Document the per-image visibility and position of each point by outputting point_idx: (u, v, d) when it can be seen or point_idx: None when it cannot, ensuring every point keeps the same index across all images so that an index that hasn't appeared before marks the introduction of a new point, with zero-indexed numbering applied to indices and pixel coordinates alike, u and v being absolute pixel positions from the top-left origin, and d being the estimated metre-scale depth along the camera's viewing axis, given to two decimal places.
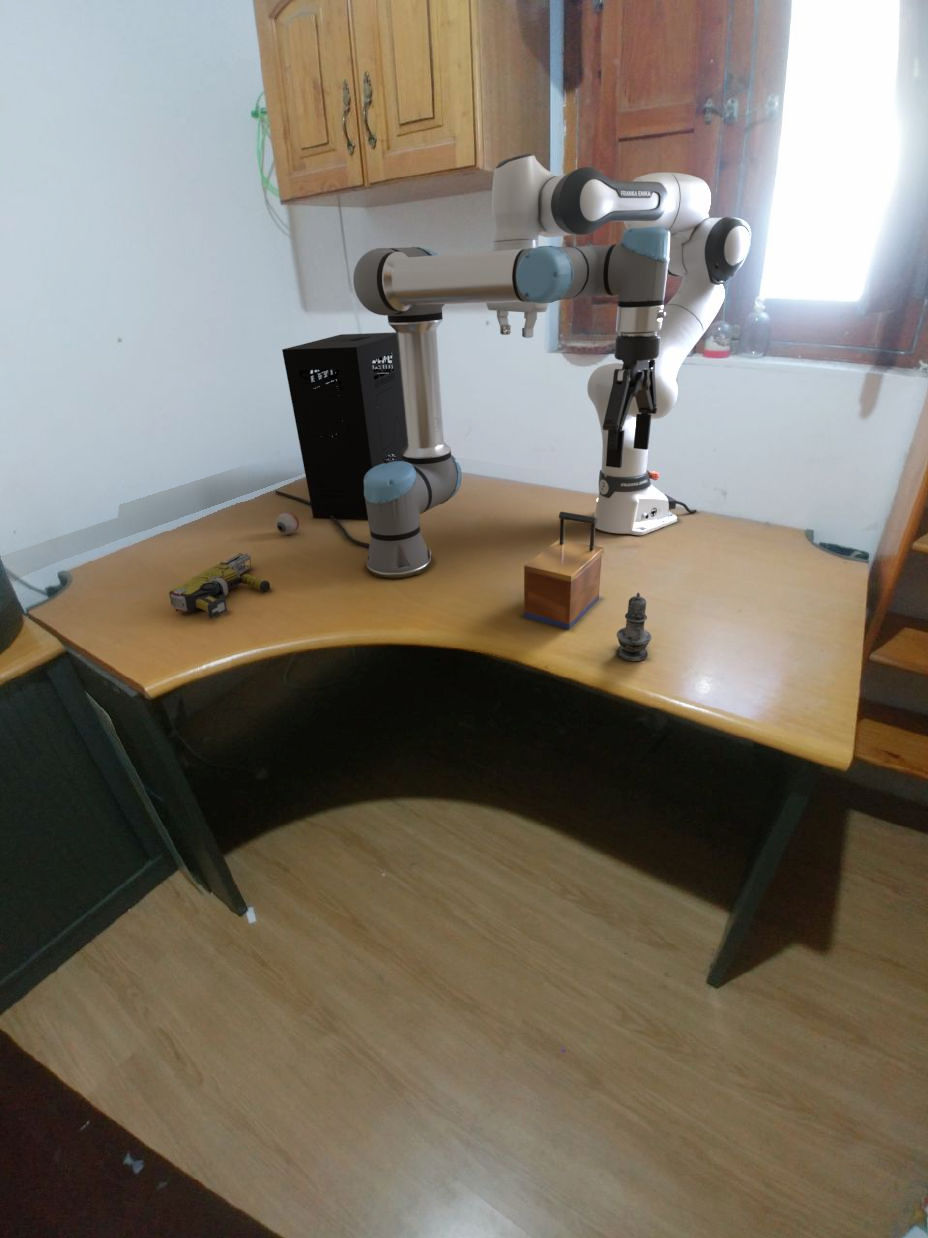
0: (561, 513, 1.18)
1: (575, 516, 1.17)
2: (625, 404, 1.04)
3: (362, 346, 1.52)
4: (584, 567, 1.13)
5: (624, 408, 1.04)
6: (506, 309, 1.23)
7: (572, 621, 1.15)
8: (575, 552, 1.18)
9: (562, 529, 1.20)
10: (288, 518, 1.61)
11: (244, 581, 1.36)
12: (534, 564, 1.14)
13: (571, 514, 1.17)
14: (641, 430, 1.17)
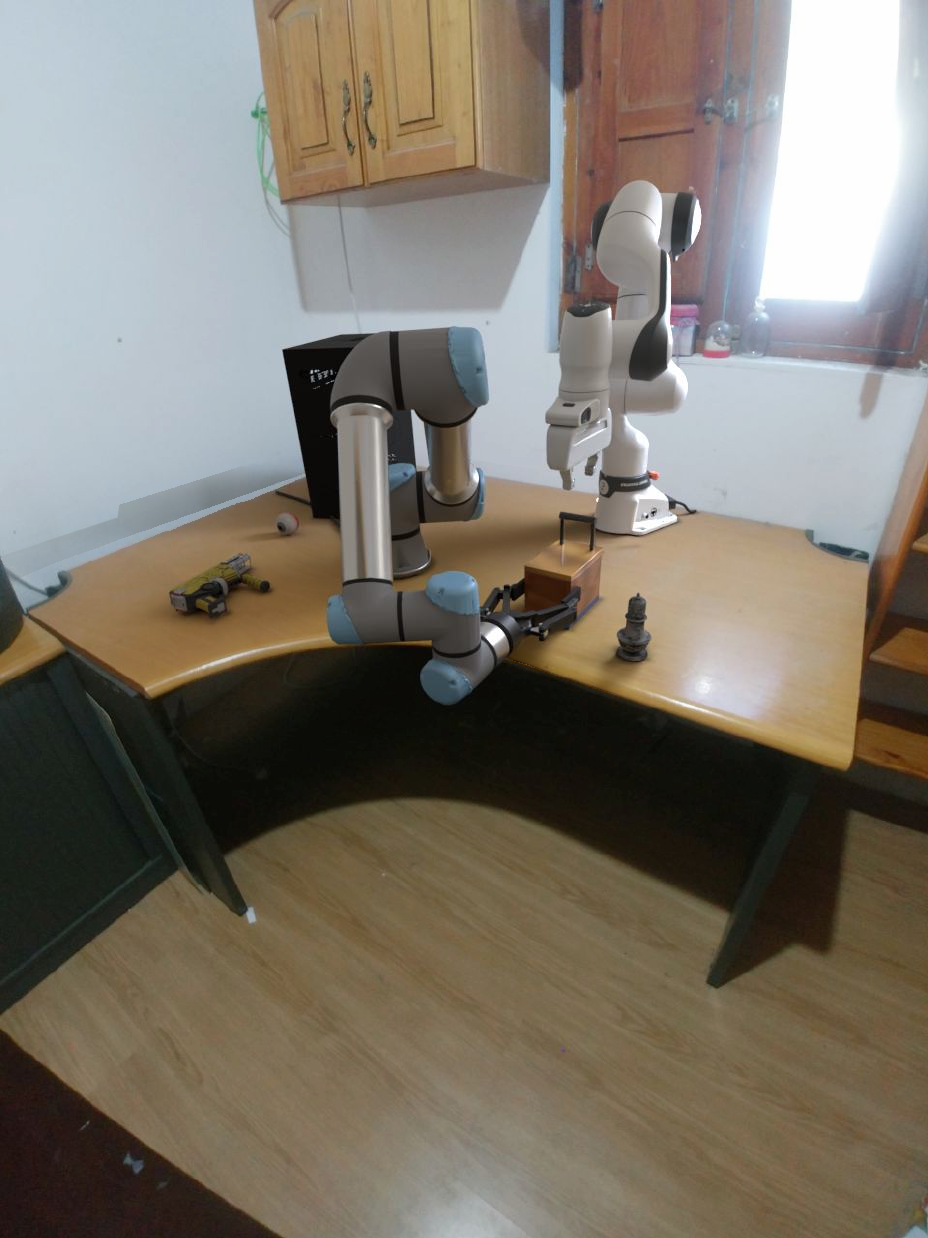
0: (561, 513, 1.18)
1: (575, 516, 1.17)
2: None
3: None
4: (584, 567, 1.13)
5: None
6: (587, 457, 1.10)
7: None
8: (575, 552, 1.18)
9: (562, 529, 1.20)
10: (288, 518, 1.61)
11: (244, 581, 1.36)
12: (534, 564, 1.14)
13: (571, 514, 1.17)
14: None
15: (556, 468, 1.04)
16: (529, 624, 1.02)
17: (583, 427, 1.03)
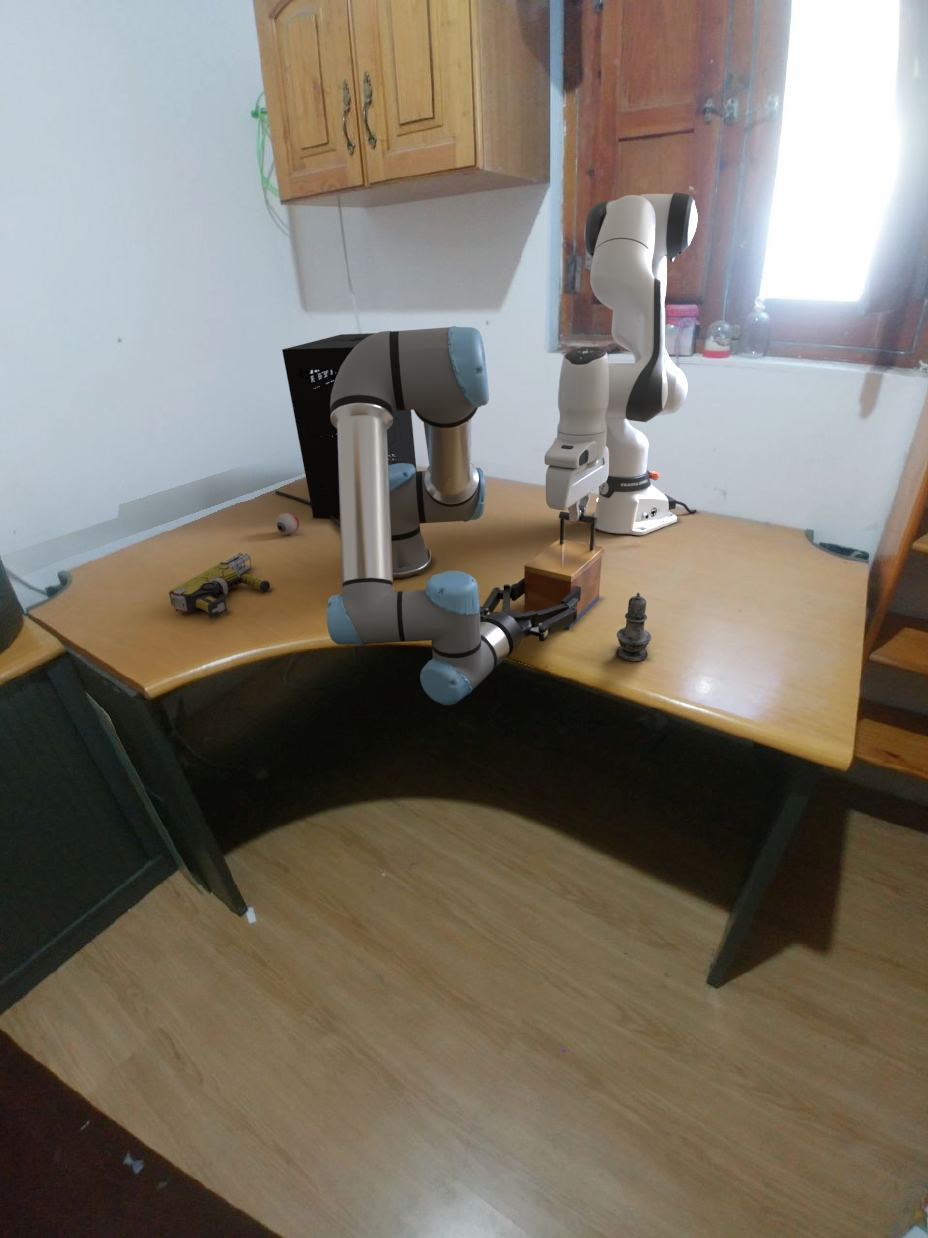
0: (561, 513, 1.18)
1: None
2: None
3: None
4: (584, 567, 1.13)
5: None
6: (585, 495, 1.13)
7: None
8: (575, 551, 1.18)
9: (562, 529, 1.20)
10: (288, 518, 1.61)
11: (244, 581, 1.36)
12: (534, 564, 1.14)
13: None
14: None
15: (555, 508, 1.08)
16: (529, 624, 1.02)
17: (581, 468, 1.06)
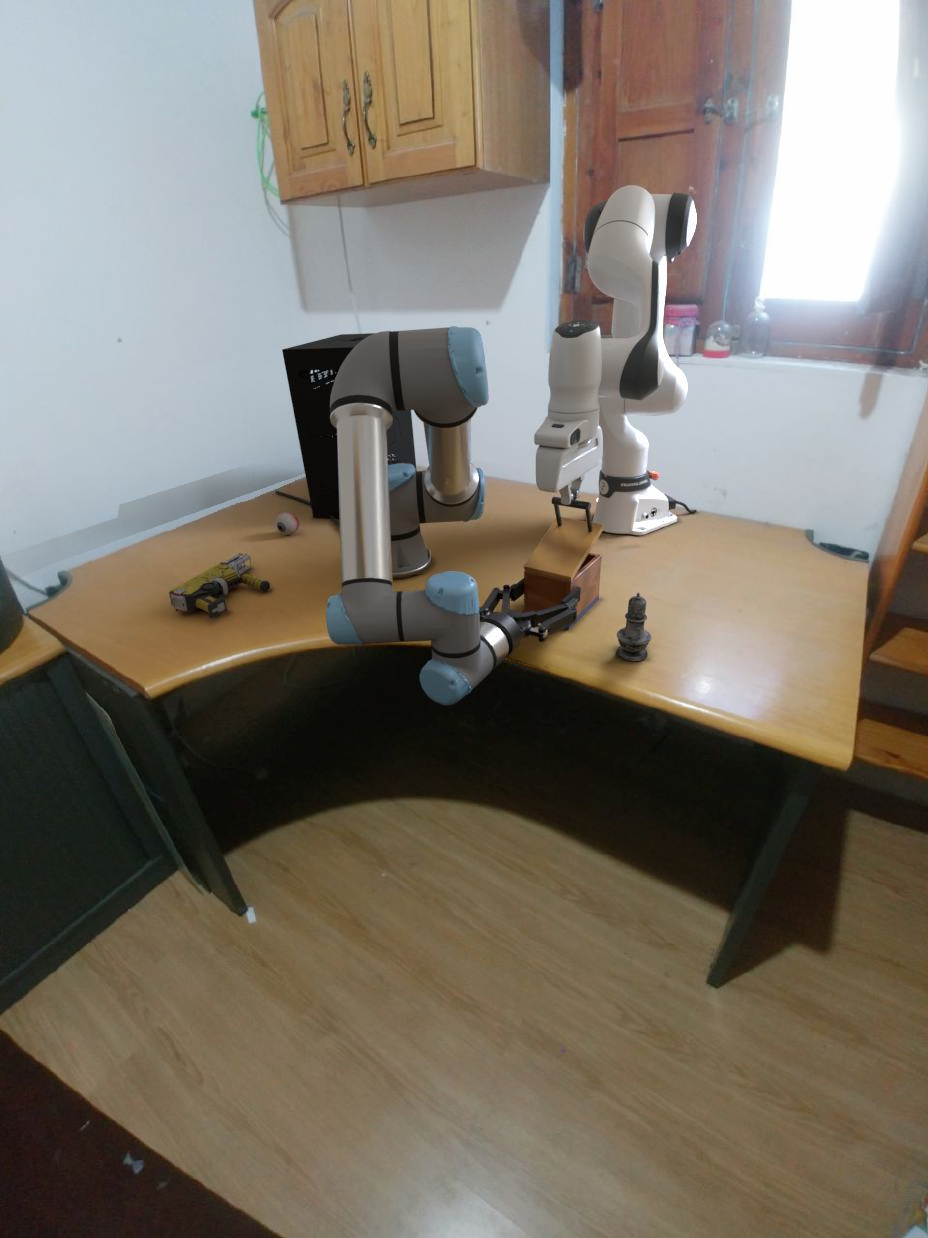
0: (553, 499, 1.14)
1: None
2: None
3: None
4: (583, 558, 1.12)
5: None
6: (578, 477, 1.08)
7: None
8: (573, 536, 1.16)
9: (557, 513, 1.16)
10: (288, 518, 1.61)
11: (244, 581, 1.36)
12: (533, 562, 1.14)
13: None
14: None
15: (545, 490, 1.03)
16: (529, 624, 1.02)
17: (573, 448, 1.01)
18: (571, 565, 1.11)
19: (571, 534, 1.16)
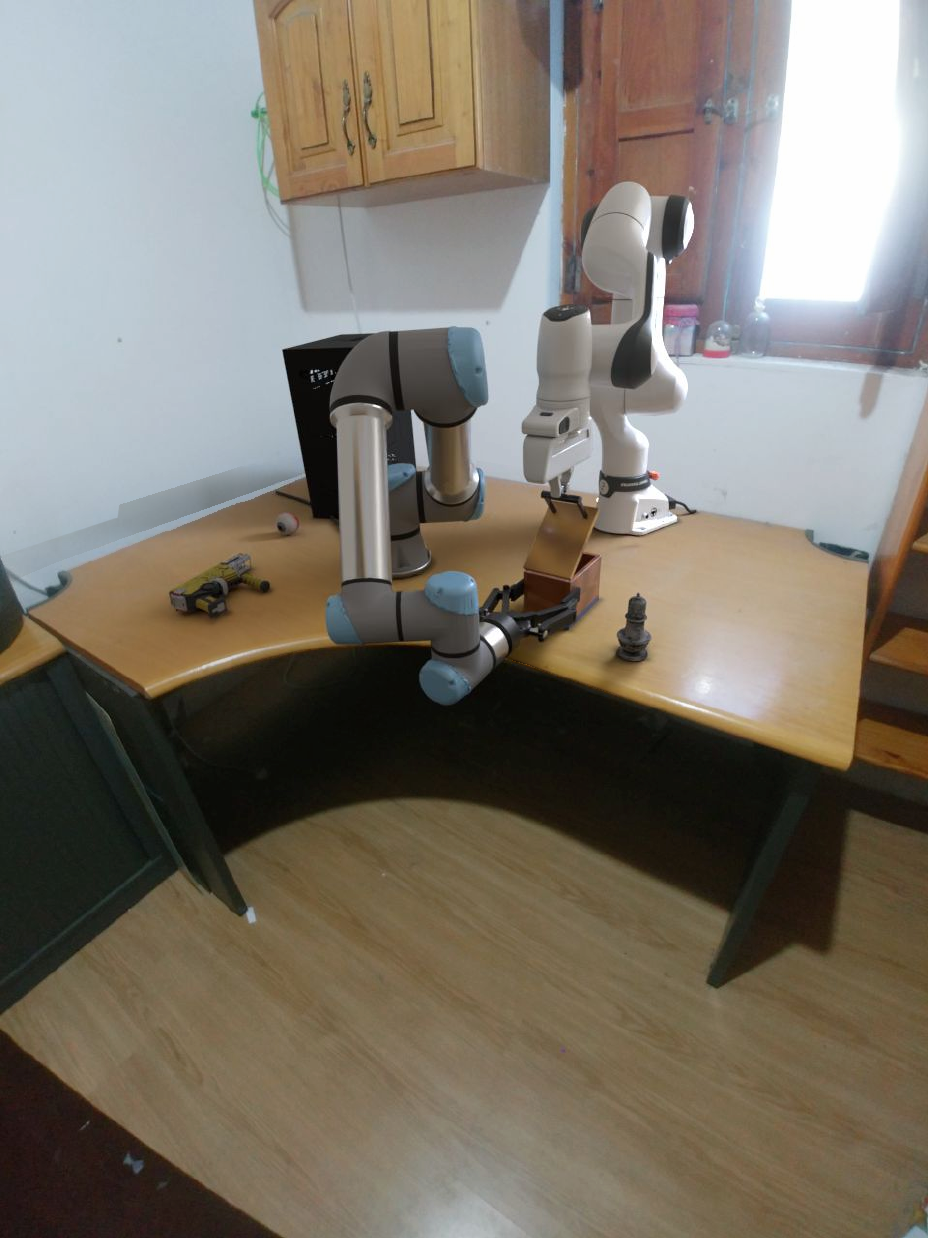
0: (542, 495, 1.10)
1: (557, 498, 1.08)
2: None
3: None
4: (581, 552, 1.10)
5: None
6: (567, 469, 1.04)
7: None
8: (569, 526, 1.13)
9: (549, 504, 1.13)
10: (288, 518, 1.61)
11: (244, 581, 1.36)
12: (532, 562, 1.13)
13: None
14: None
15: (533, 481, 0.99)
16: (528, 624, 1.02)
17: (561, 438, 0.97)
18: (569, 563, 1.10)
19: (567, 523, 1.13)
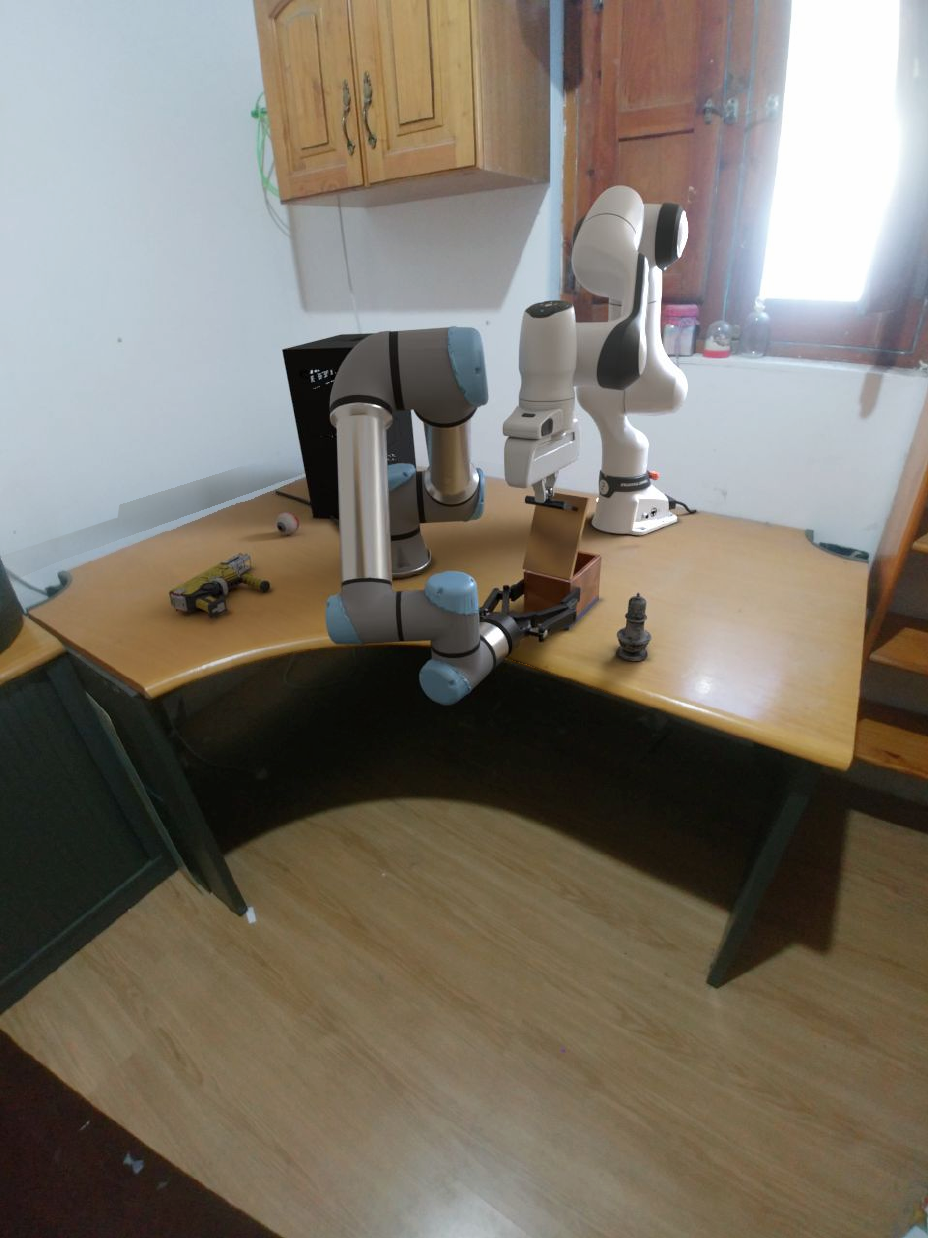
0: (526, 501, 1.05)
1: (542, 505, 1.04)
2: None
3: None
4: (577, 549, 1.08)
5: None
6: (552, 473, 0.99)
7: None
8: (561, 520, 1.09)
9: None
10: (288, 518, 1.61)
11: (244, 581, 1.36)
12: (530, 562, 1.13)
13: (537, 502, 1.04)
14: None
15: (515, 485, 0.94)
16: (528, 624, 1.02)
17: (544, 440, 0.92)
18: (567, 563, 1.09)
19: (558, 517, 1.09)
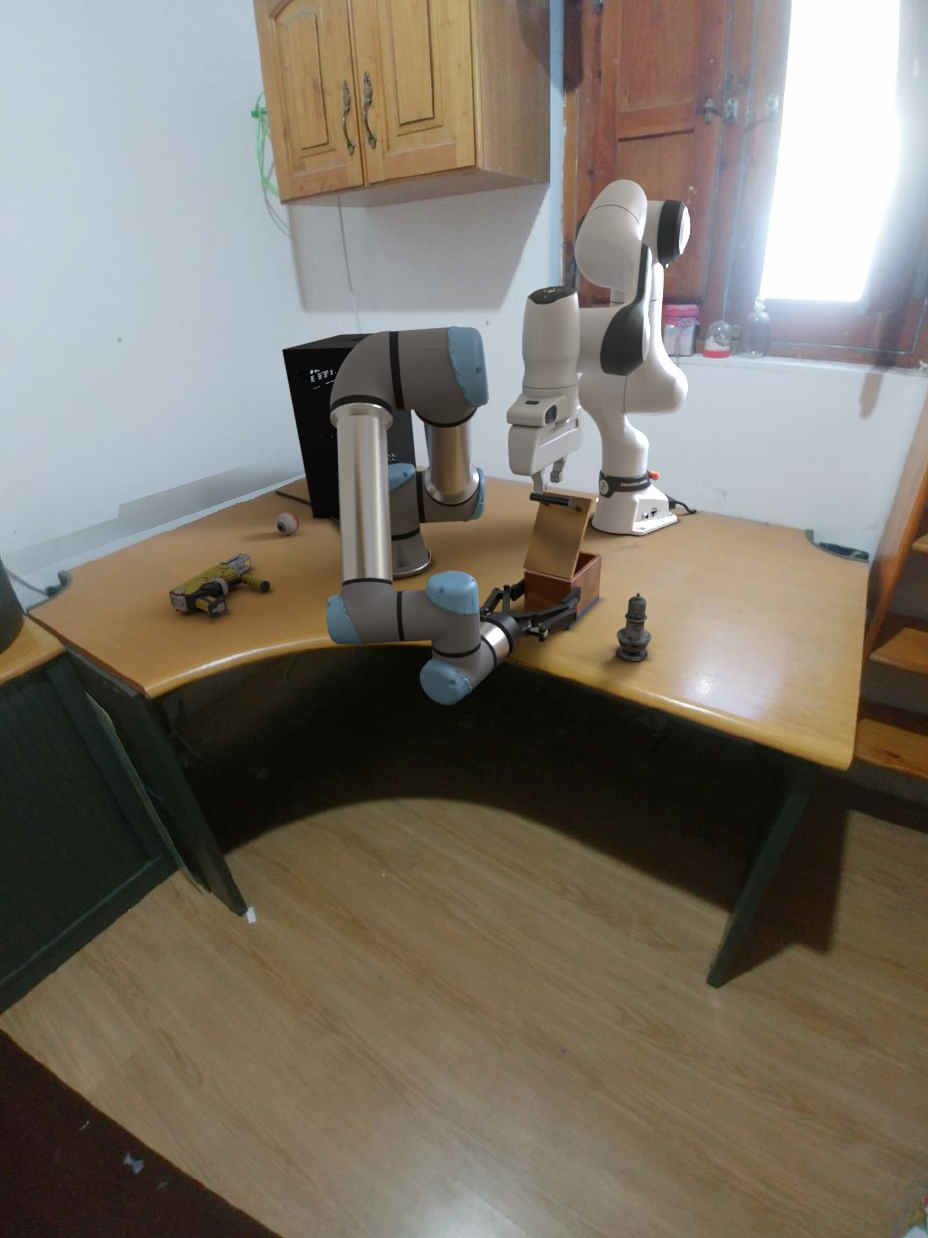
0: (531, 498, 1.06)
1: (547, 501, 1.05)
2: None
3: None
4: (579, 549, 1.09)
5: None
6: (555, 460, 0.99)
7: None
8: (564, 520, 1.10)
9: (540, 502, 1.09)
10: (288, 518, 1.61)
11: (244, 581, 1.36)
12: (531, 562, 1.13)
13: (542, 498, 1.05)
14: None
15: (519, 473, 0.94)
16: (529, 624, 1.02)
17: (548, 427, 0.92)
18: (568, 562, 1.09)
19: (561, 517, 1.10)
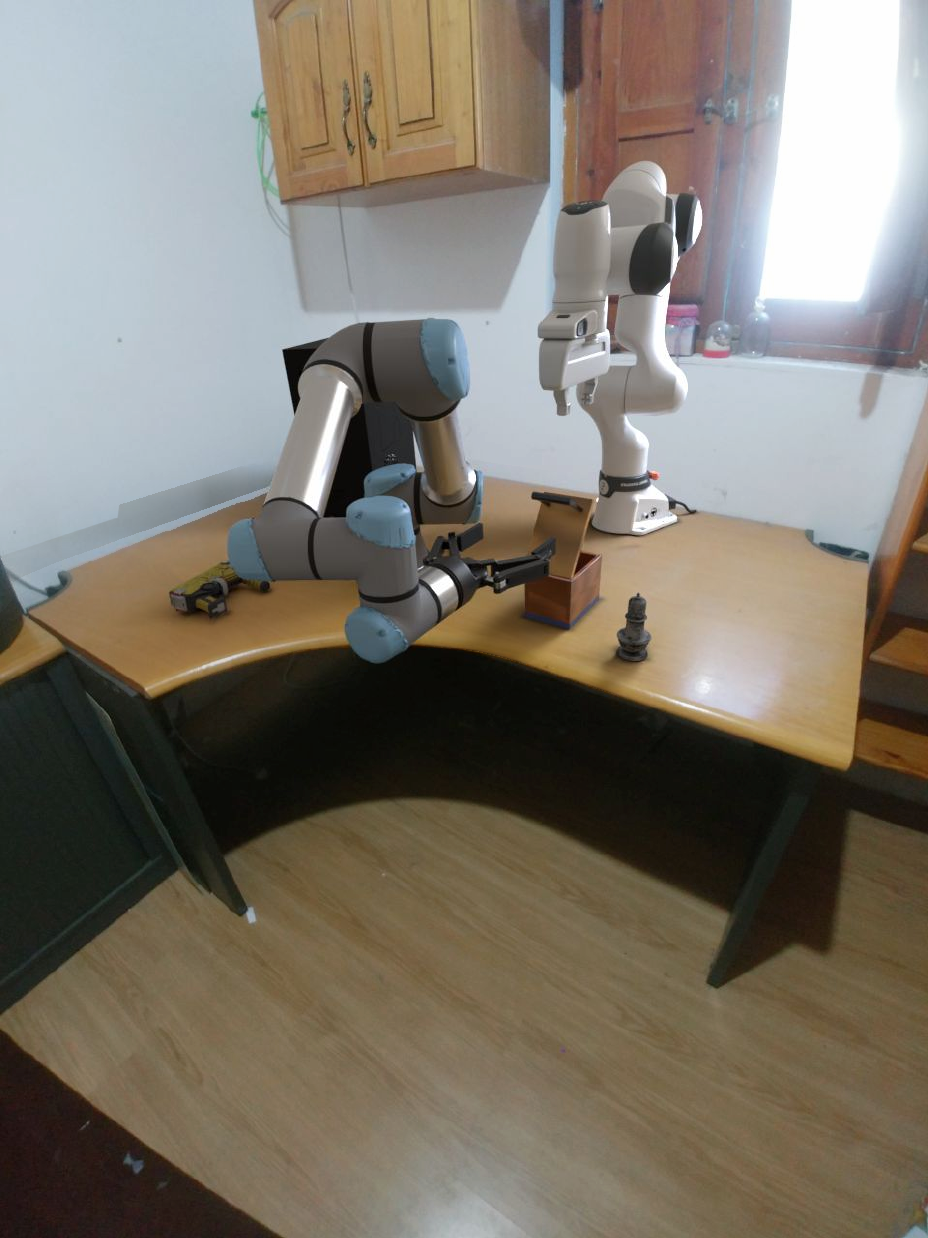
0: (533, 497, 1.07)
1: (548, 500, 1.05)
2: None
3: None
4: (580, 549, 1.09)
5: None
6: (584, 380, 1.01)
7: (572, 621, 1.15)
8: (565, 520, 1.11)
9: (542, 502, 1.10)
10: None
11: (244, 581, 1.36)
12: None
13: (543, 497, 1.06)
14: None
15: (549, 388, 0.95)
16: (485, 572, 0.85)
17: (579, 341, 0.94)
18: (568, 562, 1.09)
19: (562, 517, 1.11)
